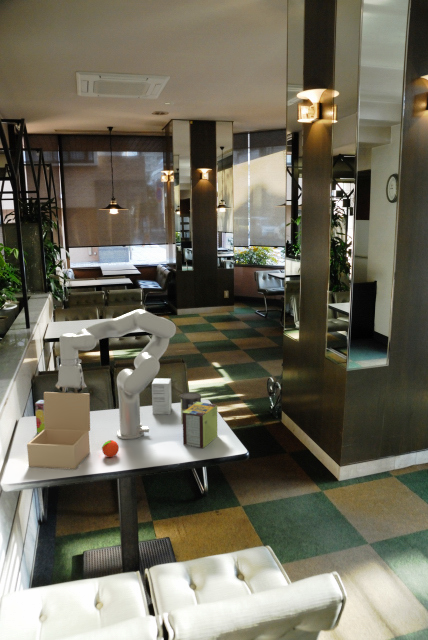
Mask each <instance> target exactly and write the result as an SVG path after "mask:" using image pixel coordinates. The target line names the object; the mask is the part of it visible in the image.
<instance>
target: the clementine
mask: <svg viewBox="0 0 428 640" xmlns="http://www.w3.org/2000/svg"><path fill="white" fill-rule="evenodd" d="M101 450H102V453H103V455H104V456H105V457H107V458H113V457H115V456H117V454H118V452H119V450H120V448H119V444H118V443H117V441H114V440H109V439H108V440H107V441H105V442H104V443H103V445H102V447H101Z"/></svg>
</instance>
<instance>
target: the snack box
mask: <svg viewBox="0 0 428 640" xmlns="http://www.w3.org/2000/svg"><path fill="white" fill-rule="evenodd" d="M34 409H35V423H36V432H37V433H38V434H39V433H41V432H42V431H43V430H44V429H45V426H44V399H38V400H37V401H36V402H35V403H34Z"/></svg>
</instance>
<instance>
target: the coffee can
mask: <svg viewBox="0 0 428 640" xmlns="http://www.w3.org/2000/svg"><path fill="white" fill-rule="evenodd" d="M197 402H202V394H201V393H198V392H195V391H194V392H192V391H191V392H190V391H189V392H183V393H181V394H180V423H181V425H183V412H184V411H185V410H187V409H188V408H189V407H191V406H192V405H194V404H195V403H197Z"/></svg>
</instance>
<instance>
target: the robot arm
mask: <svg viewBox="0 0 428 640" xmlns="http://www.w3.org/2000/svg"><path fill="white" fill-rule="evenodd" d="M136 330H141V331H143V332H146V333H149V334H151V335H152V337H151V339H150V341H149V342H148V343H147V344H146V346H144V348H143V349H142V350H141V351H140V352H139V353H137V356H136V357H135V358H134V360H133V366H134V367H135V368H134V370H133V369H132V368H124V369H122V370H121V371H119V373H118V374H117V376H116V385H117V395H118V412H119V413H118V414H119V415H118V417H119V430H117V432H116V436H117V438H119V439H123V440H134V439H139V438H141V437H143V436H144V433H149V432H150V428H149V427H148V426H143V423H141V411H140V410H141V407H140V394H141V392H143V391H144V390H145V389H146V387H147V386H148V385H149V384H150V383H151V382H153V380H154V378H155V377H156V376H157V375H158V373H159V371H160V369H161V368H160V367H161V366H160V365H161V364H160V361H159V360H160V359H161V358H162V356H163V355H164V353H165V352H166V351H167V349H168V346H169V344H170V339H171V338H173V337H174V336H175V334H176V332H177V327H176V325H175V323H174V322H173V321H171V320H170V319H167V318H165V317H162V316H157V314H156V315H155V314H153V313H152V312H149V311H147V310H145V309H143V308H139V309H135V310H132V311H130V312H127V313H125V314H122V315H120V316H117V317H115V318H112V319H108V320H106V321H103V322H98V323H95V324H93V325H90V326H89V325H88V326H87V327H85V328H82V329H80V330H79V331H78V332H77V333H76V334H75V333H72V332H70V333H63V334H61V335H60V336H59V352H60V355H59V356H60V365H59V367H58V375H57V376H58V381H57V382H56V383H55V387H56V388H57V389H58V390H59V391H60V392H61V393H67V392H68V388H71V389H73V388H74V393H81V392H82V391H83V390H84V389H85V388H87V385H86V383H85V381H84V373H83V368H82V362H83V361H82V359H80V358H79V351H90V350H91V351H92V350H93V349H95V347H97V343H98V342H97V341H98V340H102V339H107V338H120V337H123V336H125V335H127V334H130V333H132V332H135V331H136ZM80 363H81V364H80Z"/></svg>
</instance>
